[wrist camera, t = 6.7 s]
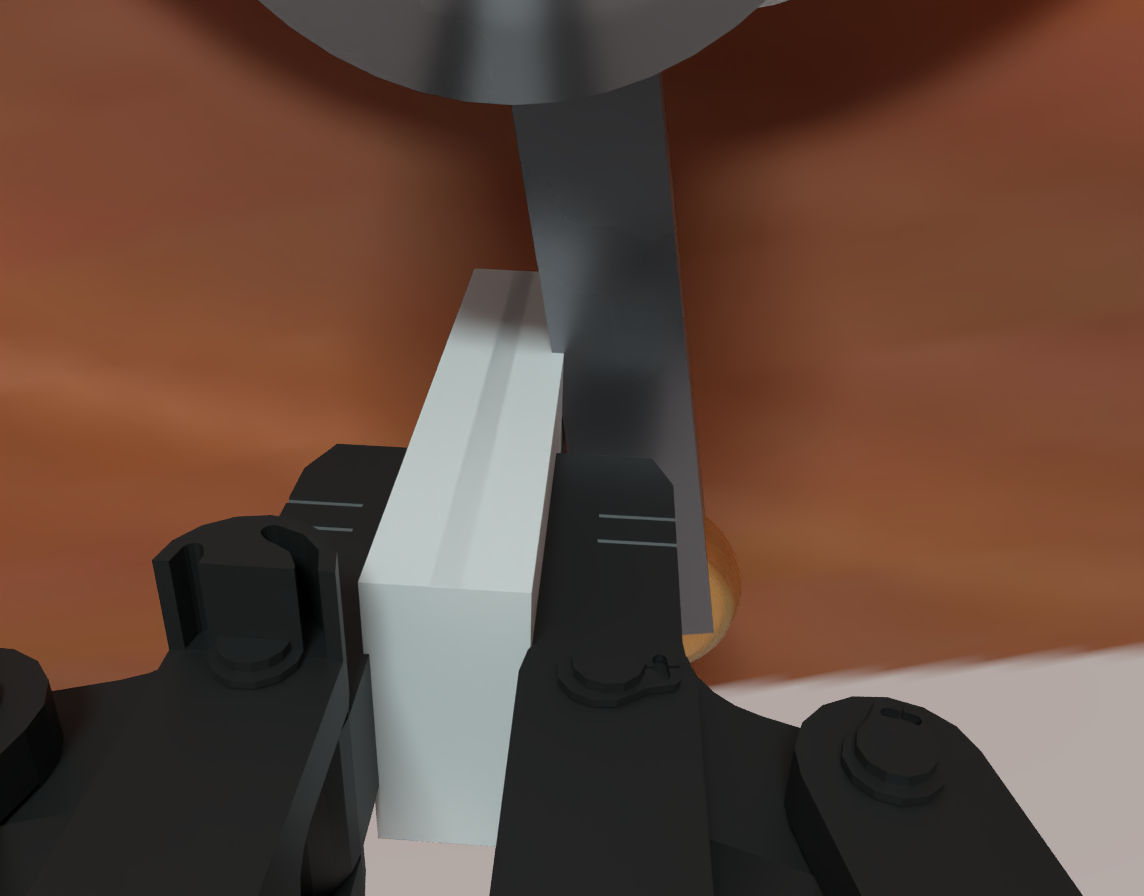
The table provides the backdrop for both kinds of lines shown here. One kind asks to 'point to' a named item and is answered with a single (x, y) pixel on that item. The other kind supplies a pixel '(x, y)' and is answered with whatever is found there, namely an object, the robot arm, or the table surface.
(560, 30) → the knob
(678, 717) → the robot arm
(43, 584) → the table surface
